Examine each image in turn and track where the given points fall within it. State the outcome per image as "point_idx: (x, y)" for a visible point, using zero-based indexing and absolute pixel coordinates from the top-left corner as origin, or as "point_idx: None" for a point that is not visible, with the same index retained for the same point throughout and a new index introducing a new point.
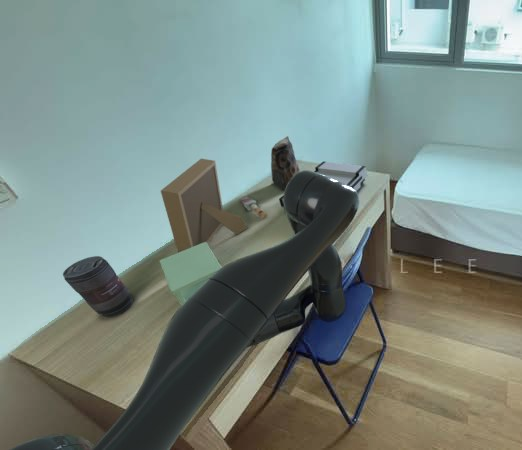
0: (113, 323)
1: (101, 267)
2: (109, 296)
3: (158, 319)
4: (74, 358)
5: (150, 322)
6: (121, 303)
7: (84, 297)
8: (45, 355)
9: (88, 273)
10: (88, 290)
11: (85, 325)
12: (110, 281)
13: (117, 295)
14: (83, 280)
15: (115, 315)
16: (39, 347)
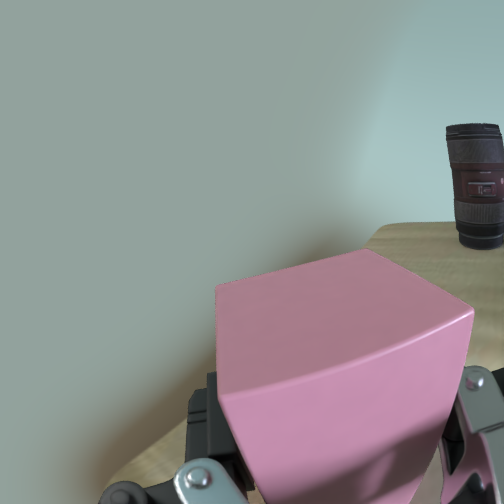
0: (454, 252)
1: (487, 130)
2: (475, 195)
3: (496, 292)
4: (381, 255)
5: (483, 286)
6: (483, 226)
7: (453, 179)
8: (382, 237)
9: (466, 126)
10: (457, 162)
11: (437, 236)
12: (489, 167)
13: (486, 204)
14: (457, 136)
15: (467, 245)
16: (393, 229)
